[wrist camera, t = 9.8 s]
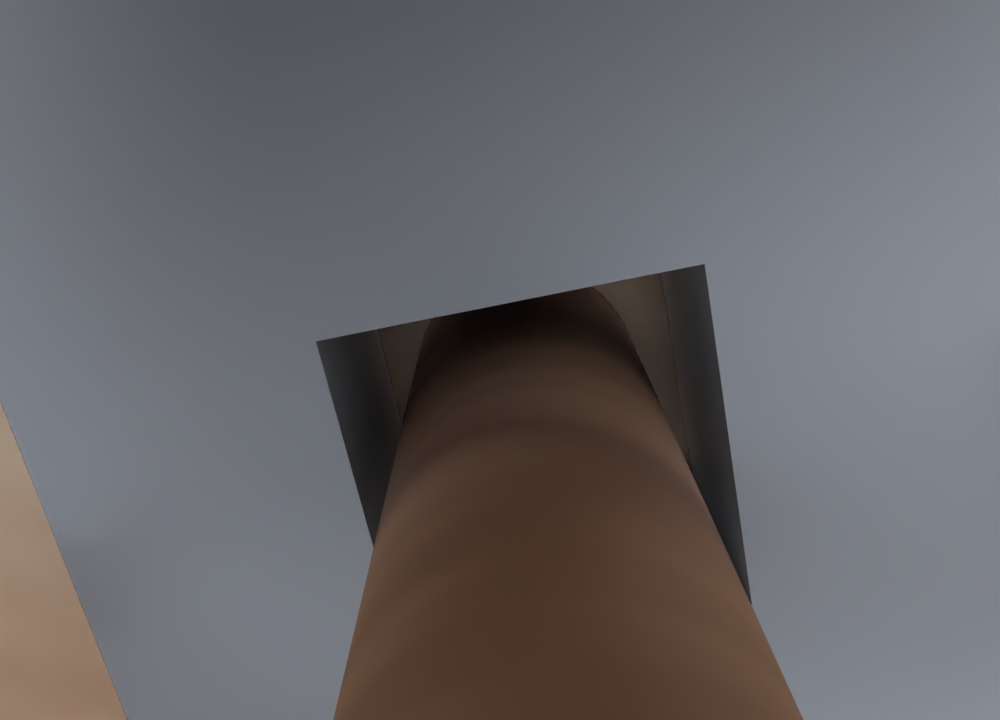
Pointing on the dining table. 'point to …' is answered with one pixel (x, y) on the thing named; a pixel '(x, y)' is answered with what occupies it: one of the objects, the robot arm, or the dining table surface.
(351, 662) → the peg
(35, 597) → the dining table surface
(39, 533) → the dining table surface
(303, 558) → the socket station
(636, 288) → the dining table surface
